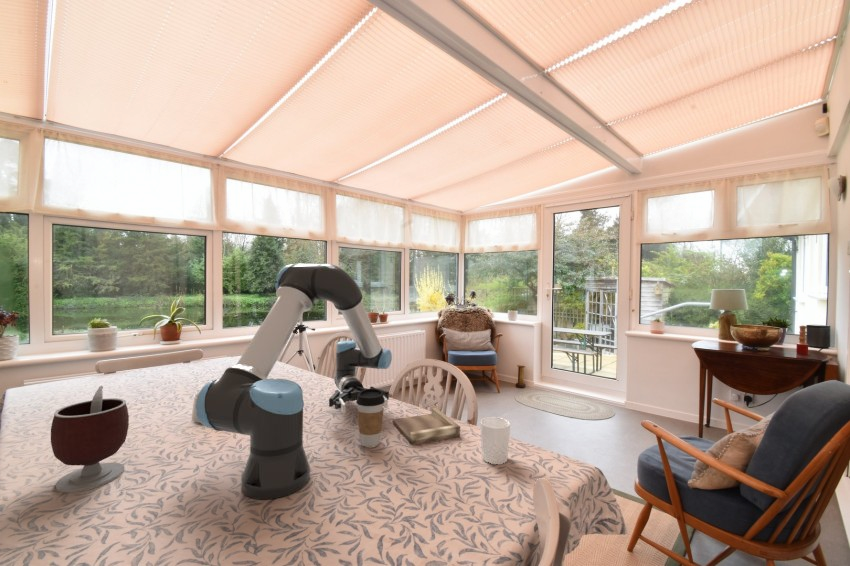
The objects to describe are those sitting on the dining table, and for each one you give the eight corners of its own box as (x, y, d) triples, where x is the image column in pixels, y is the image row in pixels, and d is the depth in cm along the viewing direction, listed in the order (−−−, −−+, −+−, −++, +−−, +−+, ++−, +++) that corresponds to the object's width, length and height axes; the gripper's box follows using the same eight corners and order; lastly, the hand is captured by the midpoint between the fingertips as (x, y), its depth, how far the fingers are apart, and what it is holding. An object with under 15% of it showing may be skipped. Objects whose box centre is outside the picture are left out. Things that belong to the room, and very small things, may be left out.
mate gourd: (122, 484, 86) (122, 398, 86) (39, 501, 79) (39, 408, 79) (134, 456, 100) (134, 382, 100) (65, 468, 93) (65, 389, 93)
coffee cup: (386, 437, 113) (387, 388, 113) (380, 450, 105) (381, 397, 105) (360, 436, 114) (360, 387, 114) (352, 448, 106) (352, 396, 106)
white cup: (512, 466, 97) (512, 428, 97) (482, 465, 97) (482, 427, 97) (506, 452, 105) (506, 417, 105) (478, 451, 105) (478, 416, 105)
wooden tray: (412, 445, 108) (412, 434, 108) (392, 422, 125) (392, 413, 125) (460, 436, 115) (460, 426, 115) (435, 416, 131) (435, 407, 131)
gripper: (383, 394, 141) (402, 413, 122) (316, 402, 131) (325, 424, 112) (383, 374, 141) (403, 390, 122) (316, 381, 131) (325, 399, 112)
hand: (365, 406), depth 117 cm, fingers open, 13 cm apart
